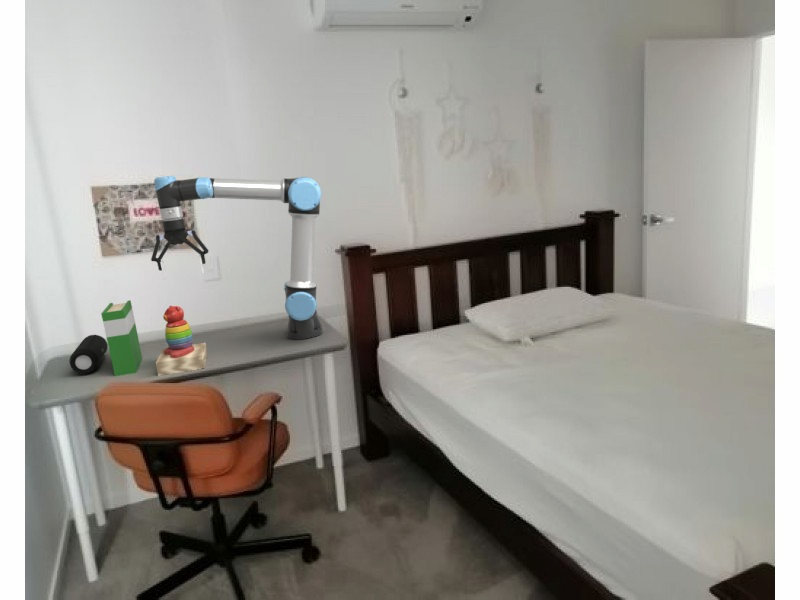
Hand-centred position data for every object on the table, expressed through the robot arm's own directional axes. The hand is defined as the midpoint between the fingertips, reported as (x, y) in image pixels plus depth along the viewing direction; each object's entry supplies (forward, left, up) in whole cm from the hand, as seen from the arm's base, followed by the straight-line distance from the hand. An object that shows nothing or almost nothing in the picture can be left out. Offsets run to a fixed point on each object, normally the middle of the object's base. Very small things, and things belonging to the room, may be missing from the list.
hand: (184, 275), depth 225 cm
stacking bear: (+5, +5, -28) cm, 29 cm away
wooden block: (+5, +6, -33) cm, 33 cm away
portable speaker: (+42, -13, -33) cm, 55 cm away
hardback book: (+26, -3, -33) cm, 42 cm away
